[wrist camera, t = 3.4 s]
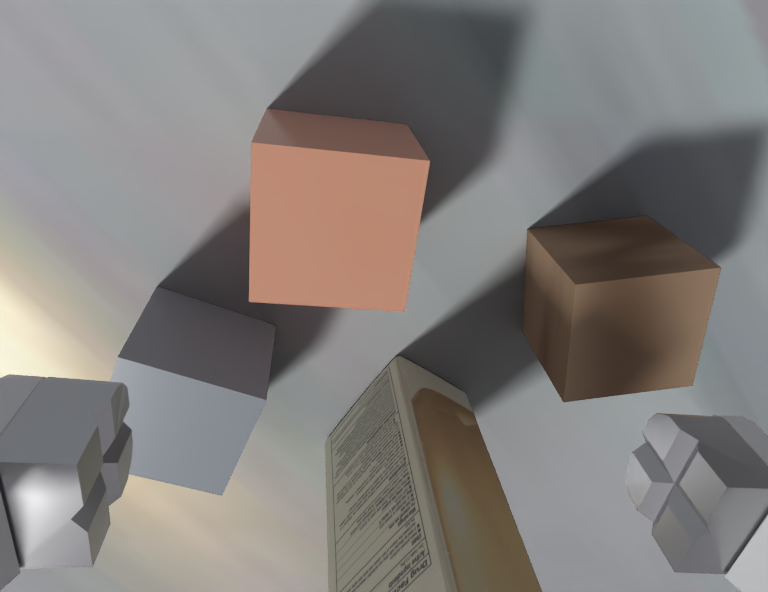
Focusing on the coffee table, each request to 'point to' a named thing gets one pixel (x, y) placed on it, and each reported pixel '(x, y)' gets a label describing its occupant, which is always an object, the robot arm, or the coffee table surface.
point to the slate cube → (193, 389)
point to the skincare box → (418, 495)
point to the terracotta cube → (334, 211)
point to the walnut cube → (616, 306)
